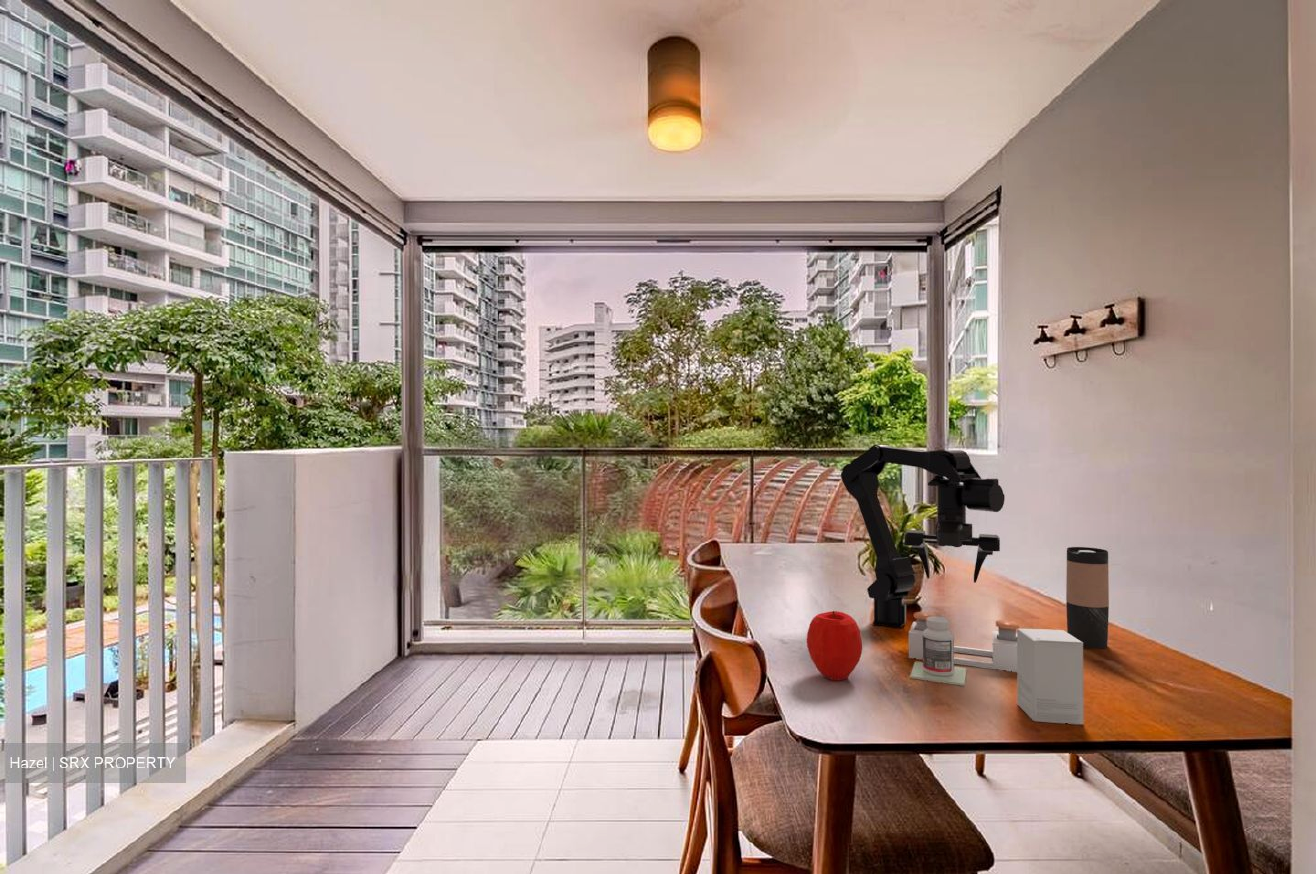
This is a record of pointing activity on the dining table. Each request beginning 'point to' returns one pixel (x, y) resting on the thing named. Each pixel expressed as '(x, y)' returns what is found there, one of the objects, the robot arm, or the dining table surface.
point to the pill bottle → (938, 647)
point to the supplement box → (1050, 675)
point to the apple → (834, 644)
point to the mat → (955, 678)
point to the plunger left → (921, 620)
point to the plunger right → (1007, 630)
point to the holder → (973, 652)
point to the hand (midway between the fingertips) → (951, 580)
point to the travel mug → (1087, 596)
